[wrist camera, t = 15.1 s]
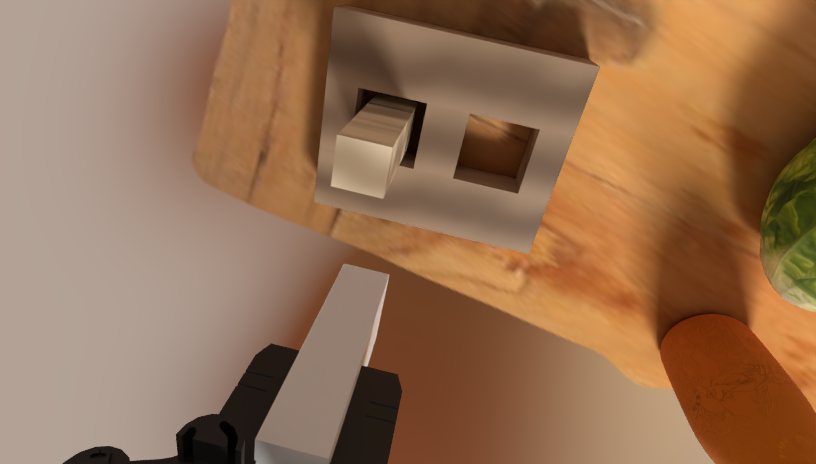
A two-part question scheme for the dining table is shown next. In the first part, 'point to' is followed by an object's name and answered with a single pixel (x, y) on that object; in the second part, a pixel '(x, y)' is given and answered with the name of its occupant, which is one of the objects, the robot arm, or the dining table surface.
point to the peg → (373, 146)
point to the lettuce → (792, 231)
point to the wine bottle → (737, 394)
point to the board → (453, 122)
